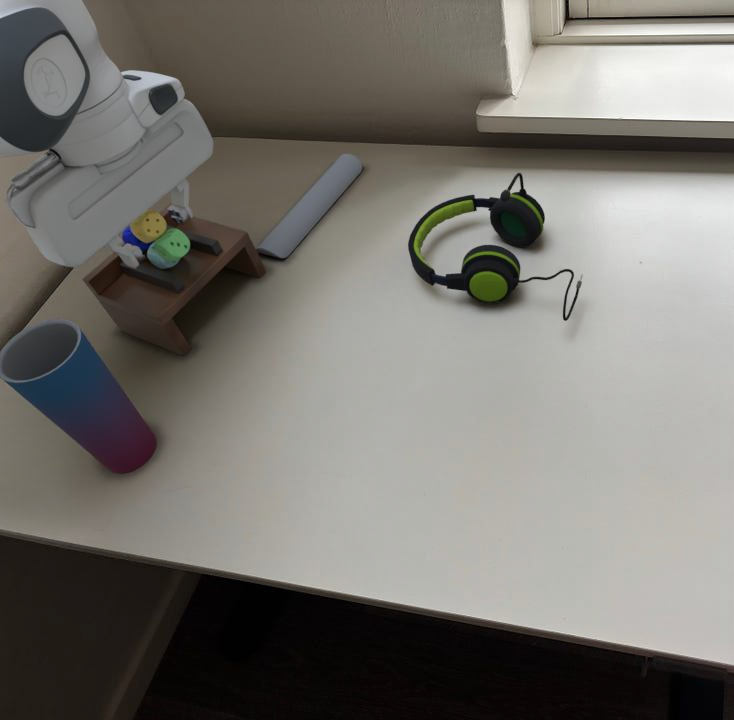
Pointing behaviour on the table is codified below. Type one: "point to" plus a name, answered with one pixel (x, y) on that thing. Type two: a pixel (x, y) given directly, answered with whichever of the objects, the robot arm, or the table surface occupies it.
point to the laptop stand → (170, 280)
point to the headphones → (487, 262)
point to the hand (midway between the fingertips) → (161, 240)
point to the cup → (77, 393)
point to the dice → (157, 239)
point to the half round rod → (311, 207)
